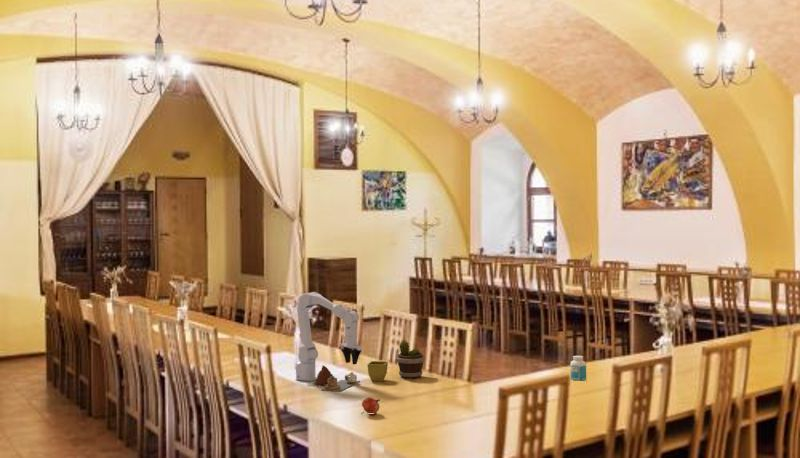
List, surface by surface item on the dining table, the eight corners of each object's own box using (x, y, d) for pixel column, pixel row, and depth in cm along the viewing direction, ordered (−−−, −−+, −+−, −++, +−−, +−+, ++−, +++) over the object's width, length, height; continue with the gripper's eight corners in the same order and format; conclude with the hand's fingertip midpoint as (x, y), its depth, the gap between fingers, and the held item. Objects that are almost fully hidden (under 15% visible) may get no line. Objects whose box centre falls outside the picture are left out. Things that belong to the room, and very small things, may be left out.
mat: (321, 390, 378) (321, 389, 378) (341, 380, 401) (341, 379, 401) (340, 391, 375) (340, 390, 375) (360, 381, 397) (360, 380, 397)
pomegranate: (361, 422, 327) (379, 408, 324) (352, 406, 329) (370, 393, 326) (369, 419, 334) (387, 406, 331) (360, 404, 336) (378, 391, 333)
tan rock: (322, 388, 379) (322, 377, 379) (328, 385, 386) (328, 374, 386) (336, 389, 377) (336, 378, 377) (342, 386, 384) (342, 375, 384)
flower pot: (384, 382, 394) (384, 364, 394) (367, 382, 396) (367, 364, 396) (388, 379, 403) (388, 361, 403) (371, 378, 405) (371, 361, 405)
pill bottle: (585, 382, 388) (585, 355, 388) (587, 385, 381) (587, 357, 381) (569, 382, 389) (569, 355, 389) (571, 385, 382) (571, 357, 382)
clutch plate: (343, 379, 394) (343, 375, 394) (352, 378, 397) (352, 373, 397) (349, 381, 389) (349, 376, 389) (359, 379, 393) (358, 375, 393)
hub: (345, 383, 392) (345, 373, 392) (349, 381, 396) (349, 371, 396) (354, 383, 391) (354, 373, 390) (357, 381, 395) (357, 371, 395)
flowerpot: (429, 375, 411) (429, 336, 411) (417, 381, 397) (417, 340, 397) (404, 373, 418) (403, 335, 417) (391, 378, 404) (391, 339, 403)
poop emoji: (318, 386, 387) (318, 367, 387) (312, 383, 394) (311, 364, 394) (337, 384, 391) (337, 365, 391) (331, 381, 399) (330, 363, 399)
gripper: (335, 335, 396) (336, 362, 396) (353, 338, 385) (353, 366, 385) (347, 333, 401) (347, 360, 401) (365, 336, 390) (365, 364, 390)
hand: (351, 363), depth 393 cm, fingers open, 5 cm apart
